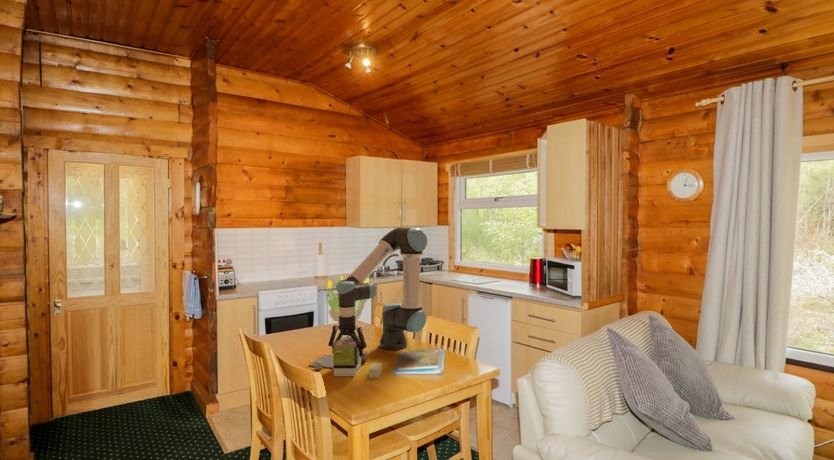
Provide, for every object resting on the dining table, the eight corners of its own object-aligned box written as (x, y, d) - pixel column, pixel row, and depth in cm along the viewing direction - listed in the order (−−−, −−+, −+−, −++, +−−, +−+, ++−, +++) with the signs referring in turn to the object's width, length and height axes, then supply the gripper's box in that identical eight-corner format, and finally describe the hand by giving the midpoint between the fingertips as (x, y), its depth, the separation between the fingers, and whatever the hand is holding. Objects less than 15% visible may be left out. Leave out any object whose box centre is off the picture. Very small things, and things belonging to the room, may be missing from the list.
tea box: (340, 365, 222) (339, 334, 222) (361, 365, 222) (360, 334, 221) (333, 376, 207) (332, 344, 207) (355, 376, 207) (354, 344, 206)
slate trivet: (347, 358, 232) (347, 356, 232) (333, 368, 217) (333, 367, 217) (324, 355, 236) (324, 354, 236) (308, 366, 221) (308, 364, 221)
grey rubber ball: (324, 368, 218) (324, 360, 218) (320, 371, 214) (320, 362, 214) (316, 367, 219) (316, 359, 219) (312, 370, 215) (312, 362, 215)
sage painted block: (381, 371, 213) (381, 363, 213) (377, 378, 206) (377, 369, 205) (372, 371, 214) (372, 362, 214) (369, 377, 206) (368, 368, 206)
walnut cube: (366, 360, 229) (366, 350, 229) (365, 363, 224) (365, 353, 224) (356, 360, 229) (356, 350, 229) (355, 363, 224) (354, 353, 224)
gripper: (373, 314, 214) (374, 361, 215) (327, 311, 220) (328, 357, 221) (367, 318, 206) (368, 367, 208) (320, 315, 213) (321, 362, 214)
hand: (347, 362), depth 214 cm, fingers closed on tea box, 11 cm apart
